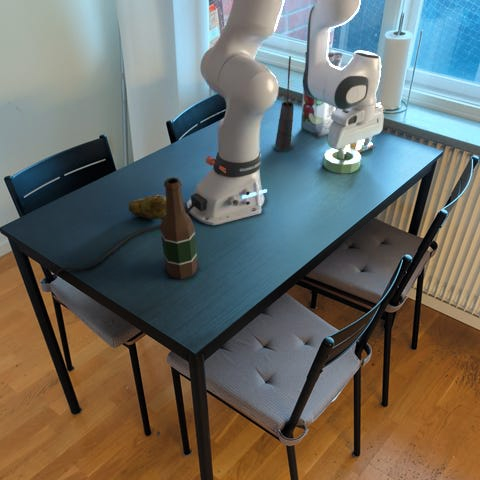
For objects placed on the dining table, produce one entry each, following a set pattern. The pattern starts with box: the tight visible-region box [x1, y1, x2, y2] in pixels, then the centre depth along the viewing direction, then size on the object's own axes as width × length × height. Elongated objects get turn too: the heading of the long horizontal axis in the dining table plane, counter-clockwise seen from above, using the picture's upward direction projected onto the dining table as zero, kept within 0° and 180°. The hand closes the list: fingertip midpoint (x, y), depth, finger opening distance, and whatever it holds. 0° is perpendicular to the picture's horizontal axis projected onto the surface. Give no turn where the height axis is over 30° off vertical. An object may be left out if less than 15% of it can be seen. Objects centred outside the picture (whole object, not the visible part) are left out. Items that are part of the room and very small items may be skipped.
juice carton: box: [300, 49, 343, 138], centre depth 174 cm, size 9×10×27 cm
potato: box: [128, 194, 167, 221], centre depth 142 cm, size 8×13×8 cm, turn 43°
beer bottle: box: [160, 177, 198, 280], centre depth 120 cm, size 8×8×24 cm
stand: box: [345, 139, 374, 153], centre depth 170 cm, size 9×9×12 cm
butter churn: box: [274, 55, 295, 152], centre depth 164 cm, size 9×10×28 cm
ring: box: [322, 147, 362, 174], centre depth 165 cm, size 11×11×3 cm
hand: (353, 153), depth 166 cm, fingers open, 8 cm apart
